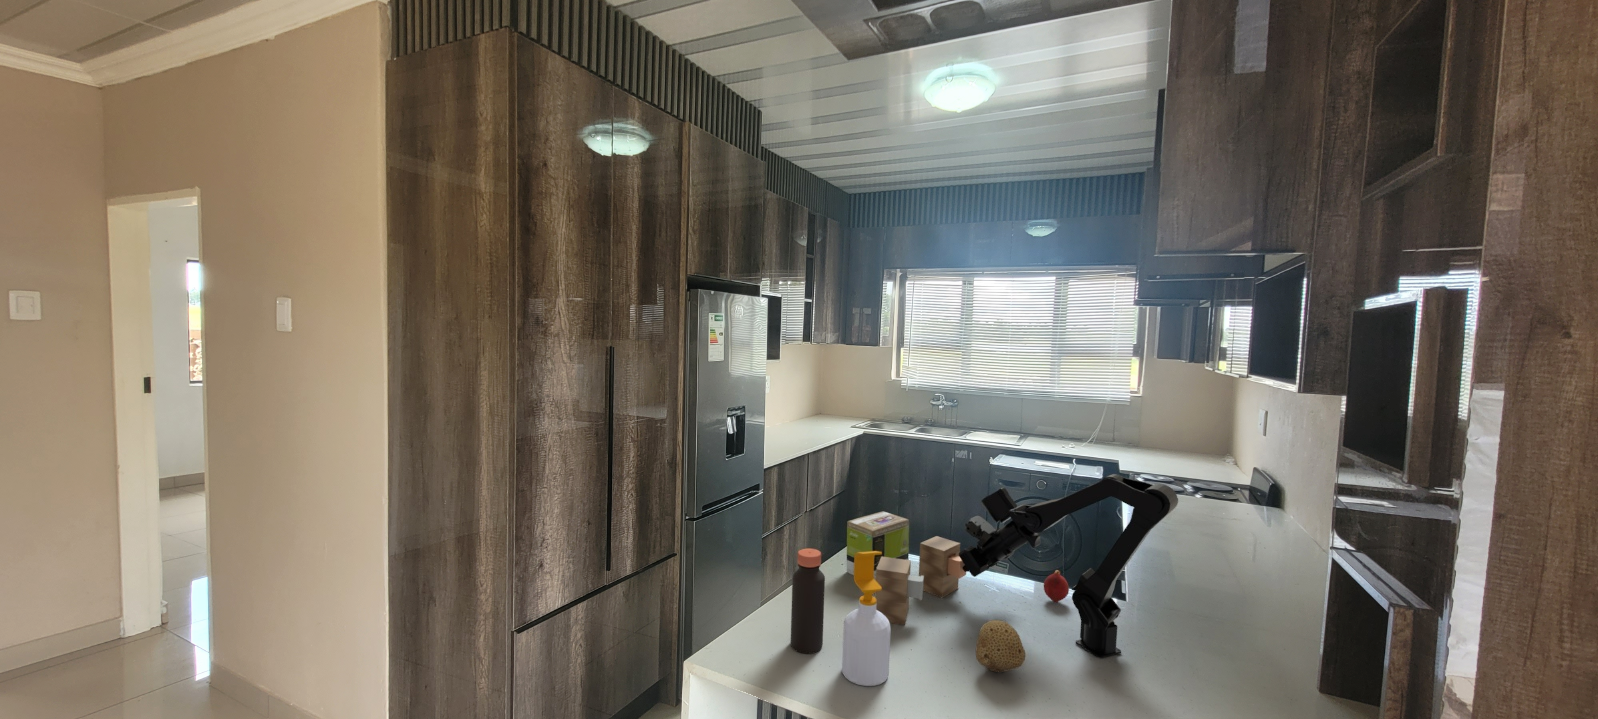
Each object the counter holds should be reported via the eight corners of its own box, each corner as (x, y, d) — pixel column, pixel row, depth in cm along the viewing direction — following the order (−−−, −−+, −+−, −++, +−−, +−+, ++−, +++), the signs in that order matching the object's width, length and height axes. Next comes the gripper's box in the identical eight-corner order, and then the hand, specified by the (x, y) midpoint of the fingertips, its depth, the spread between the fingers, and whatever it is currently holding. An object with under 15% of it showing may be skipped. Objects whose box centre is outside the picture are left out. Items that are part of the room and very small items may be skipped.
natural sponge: (1032, 673, 118) (1034, 624, 118) (1010, 691, 112) (1012, 640, 111) (989, 654, 125) (992, 607, 124) (967, 670, 119) (969, 621, 118)
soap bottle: (851, 690, 111) (856, 560, 110) (835, 663, 120) (840, 542, 118) (896, 683, 113) (901, 557, 112) (877, 657, 122) (882, 539, 121)
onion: (1064, 609, 146) (1066, 577, 145) (1040, 602, 149) (1041, 571, 149) (1070, 601, 150) (1072, 570, 150) (1046, 594, 154) (1048, 564, 154)
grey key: (923, 593, 140) (923, 575, 140) (921, 600, 137) (922, 581, 137) (890, 588, 142) (891, 570, 142) (888, 595, 139) (889, 576, 139)
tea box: (882, 559, 174) (884, 509, 173) (909, 571, 166) (911, 519, 165) (844, 572, 164) (846, 519, 163) (871, 585, 157) (873, 529, 156)
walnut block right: (958, 588, 156) (960, 543, 155) (941, 597, 150) (944, 550, 150) (934, 579, 161) (936, 535, 160) (918, 588, 155) (920, 543, 155)
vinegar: (825, 640, 128) (829, 548, 127) (818, 656, 122) (821, 560, 121) (795, 634, 130) (798, 544, 129) (786, 650, 124) (789, 556, 123)
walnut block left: (908, 609, 144) (910, 560, 143) (905, 625, 136) (907, 573, 135) (879, 604, 146) (881, 556, 145) (874, 619, 138) (876, 569, 137)
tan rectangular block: (966, 574, 152) (966, 557, 152) (959, 578, 149) (960, 561, 149) (939, 565, 157) (940, 549, 157) (932, 569, 155) (933, 552, 154)
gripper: (1004, 501, 152) (963, 532, 161) (968, 517, 139) (925, 549, 147) (1033, 540, 147) (989, 570, 156) (998, 560, 134) (952, 591, 142)
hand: (964, 569), depth 150 cm, fingers closed, pressing on tan rectangular block
